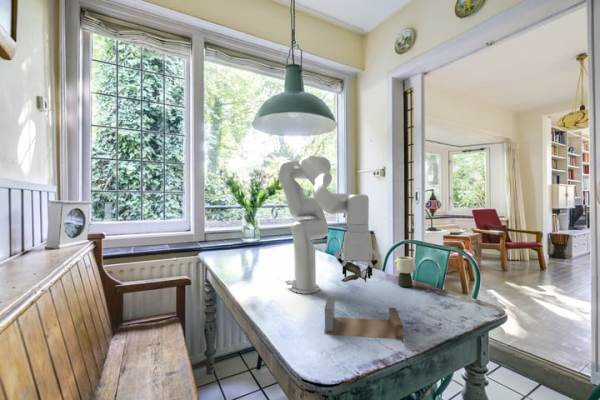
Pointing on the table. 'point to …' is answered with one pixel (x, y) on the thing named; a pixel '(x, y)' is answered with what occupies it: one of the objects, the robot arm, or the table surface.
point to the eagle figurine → (355, 272)
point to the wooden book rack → (370, 327)
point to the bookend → (330, 314)
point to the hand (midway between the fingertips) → (357, 276)
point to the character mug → (405, 270)
